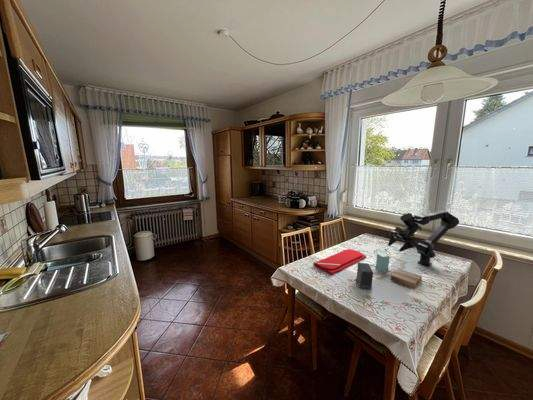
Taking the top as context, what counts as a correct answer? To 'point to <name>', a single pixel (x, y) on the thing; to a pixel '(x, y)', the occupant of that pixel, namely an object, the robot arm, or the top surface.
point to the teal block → (382, 262)
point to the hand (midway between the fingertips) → (393, 248)
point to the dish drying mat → (339, 261)
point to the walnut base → (406, 278)
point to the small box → (364, 276)
